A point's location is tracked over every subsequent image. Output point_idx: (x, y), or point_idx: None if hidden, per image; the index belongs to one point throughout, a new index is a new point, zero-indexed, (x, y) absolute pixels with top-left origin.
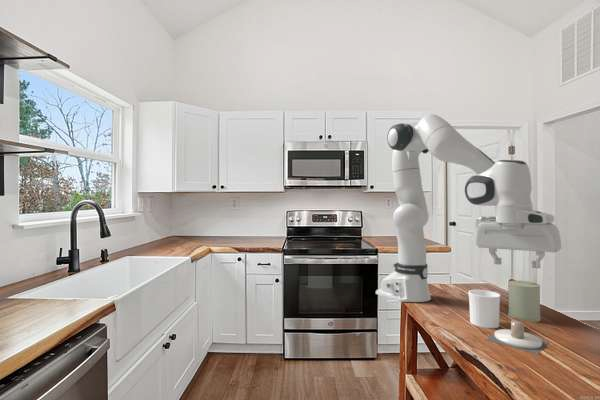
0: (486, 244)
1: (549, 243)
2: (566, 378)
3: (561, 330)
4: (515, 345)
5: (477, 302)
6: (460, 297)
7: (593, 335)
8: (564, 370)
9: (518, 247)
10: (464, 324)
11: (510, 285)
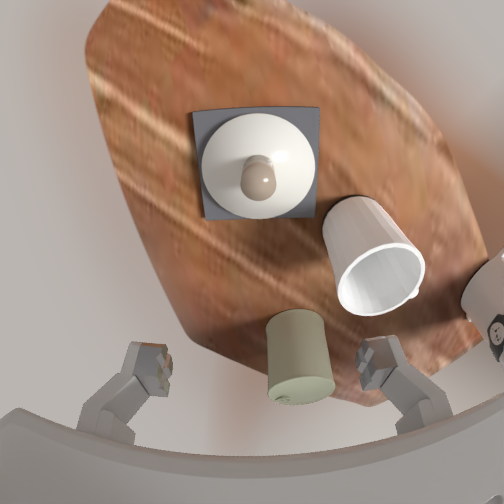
0: (480, 430)
1: (13, 460)
2: (123, 57)
3: (220, 306)
4: (245, 114)
5: (390, 231)
6: (411, 344)
7: (177, 315)
8: (136, 90)
9: (222, 477)
10: (393, 201)
11: (327, 375)
